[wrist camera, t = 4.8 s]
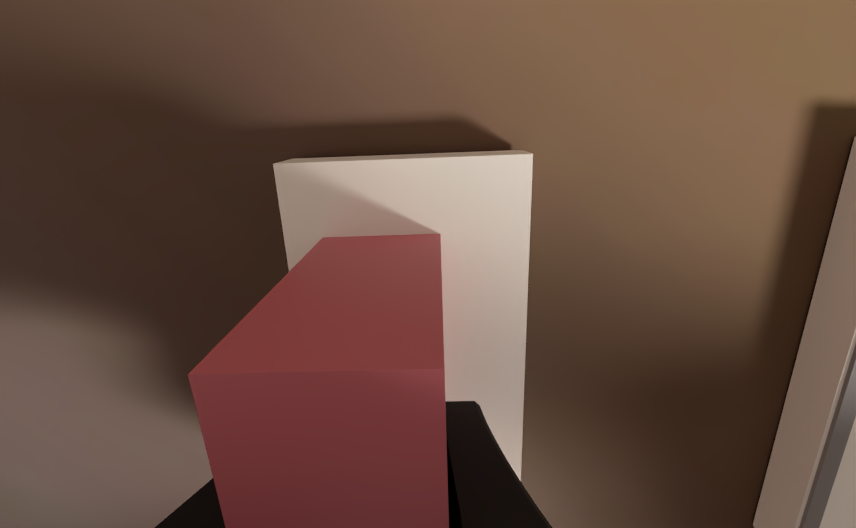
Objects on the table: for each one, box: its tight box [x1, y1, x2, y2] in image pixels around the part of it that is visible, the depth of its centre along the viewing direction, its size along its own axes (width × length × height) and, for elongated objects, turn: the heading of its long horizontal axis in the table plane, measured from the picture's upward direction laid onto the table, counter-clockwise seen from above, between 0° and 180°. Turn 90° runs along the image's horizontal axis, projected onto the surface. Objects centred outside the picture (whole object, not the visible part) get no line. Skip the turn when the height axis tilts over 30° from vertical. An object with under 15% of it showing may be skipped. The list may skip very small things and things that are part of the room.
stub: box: [188, 150, 533, 528], centre depth 8 cm, size 11×5×6 cm, turn 2°
